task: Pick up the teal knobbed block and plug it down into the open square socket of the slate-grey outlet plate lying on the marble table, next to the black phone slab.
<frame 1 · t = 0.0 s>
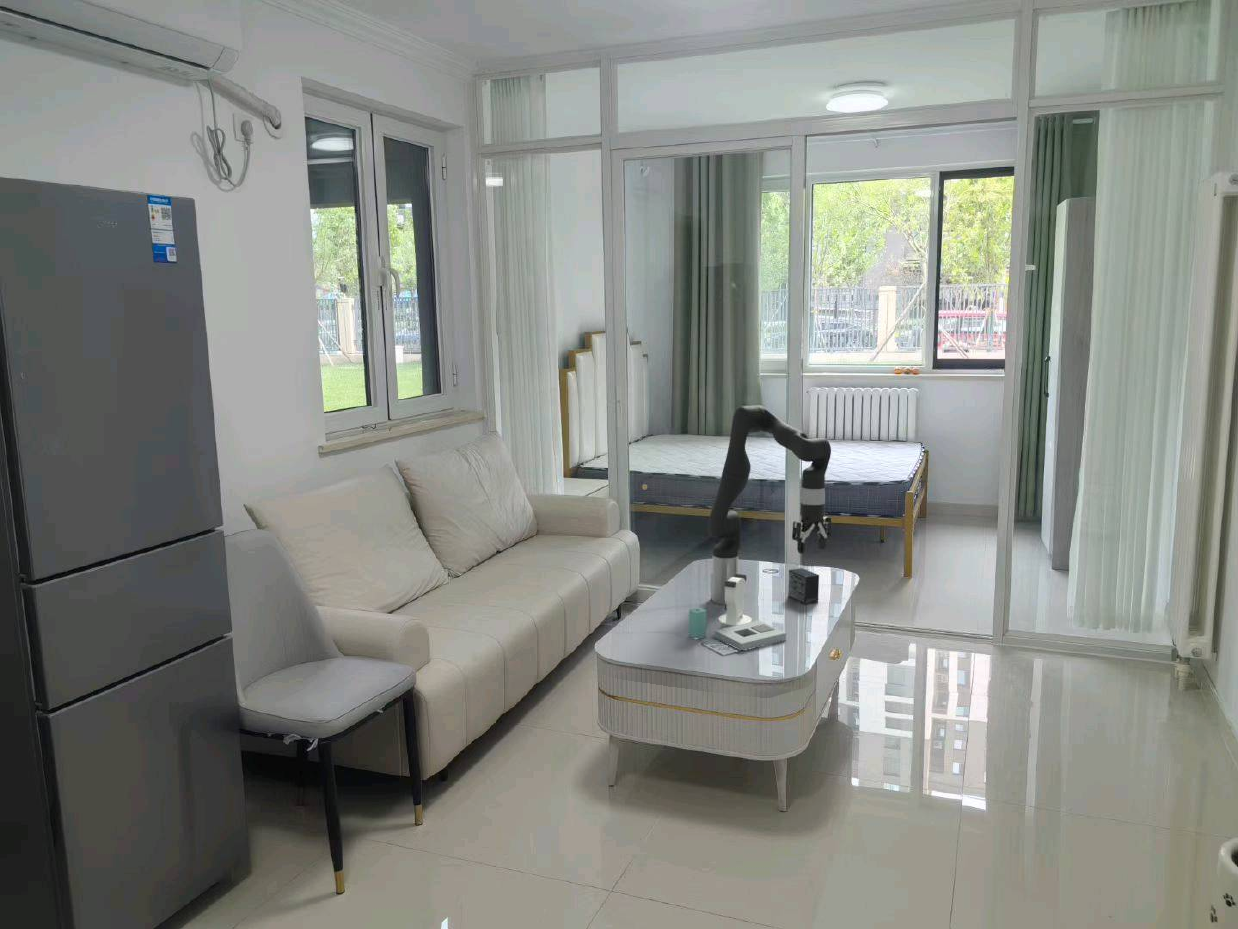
hand: (811, 551, 296), 29 cm above the table, fingers open, 8 cm apart
teal knobbed block: (697, 636, 305), on the table
white curved stand: (735, 620, 320), on the table
small box: (803, 600, 340), on the table
outlet plate: (750, 639, 302), on the table
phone: (719, 649, 294), on the table
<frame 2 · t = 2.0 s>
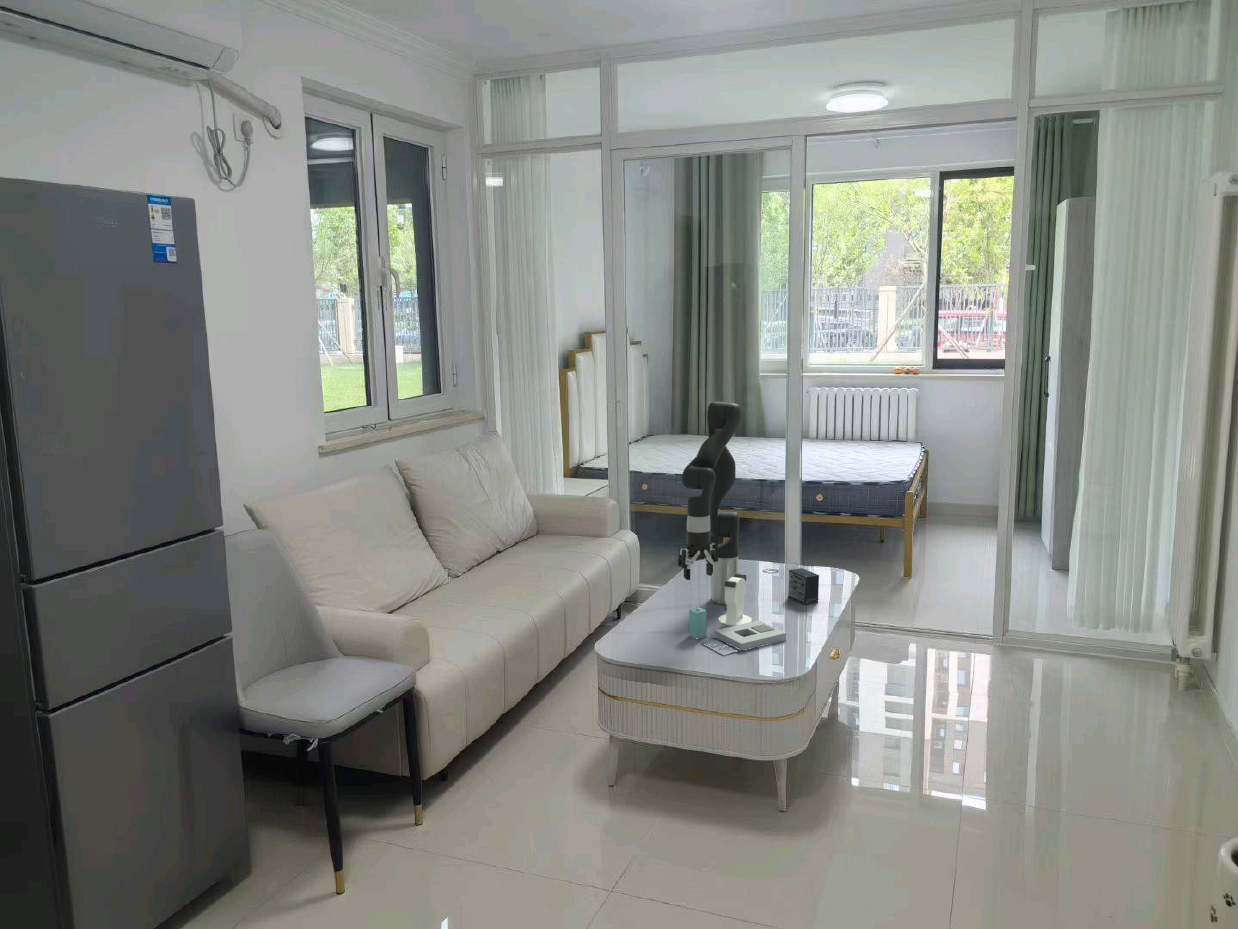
hand: (698, 577, 301), 20 cm above the table, fingers open, 8 cm apart
nothing on the table moved.
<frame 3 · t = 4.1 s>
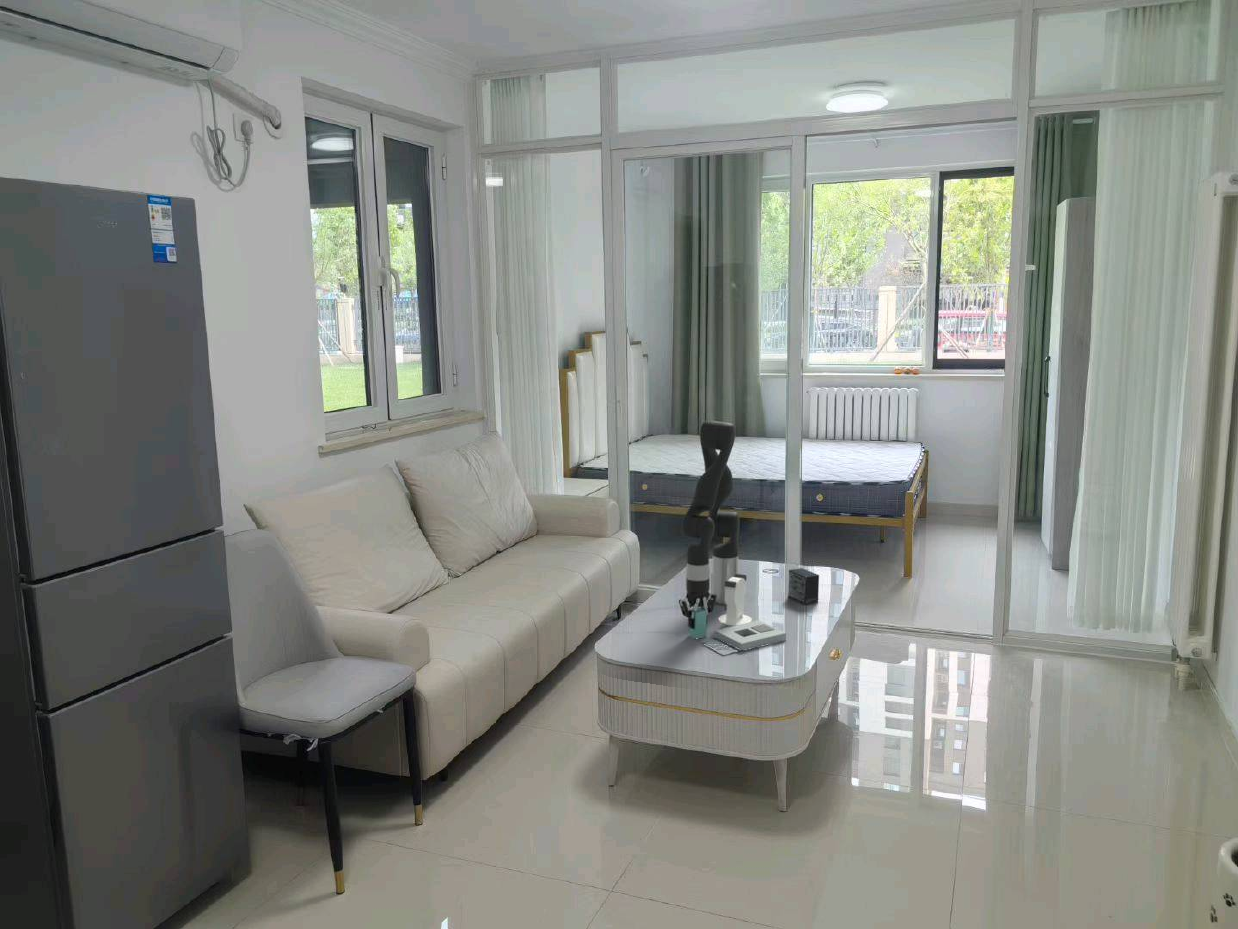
hand: (697, 626, 304), 3 cm above the table, fingers closed on teal knobbed block, 4 cm apart
teal knobbed block: (697, 636, 305), on the table, touching gripper
everything else where it was.
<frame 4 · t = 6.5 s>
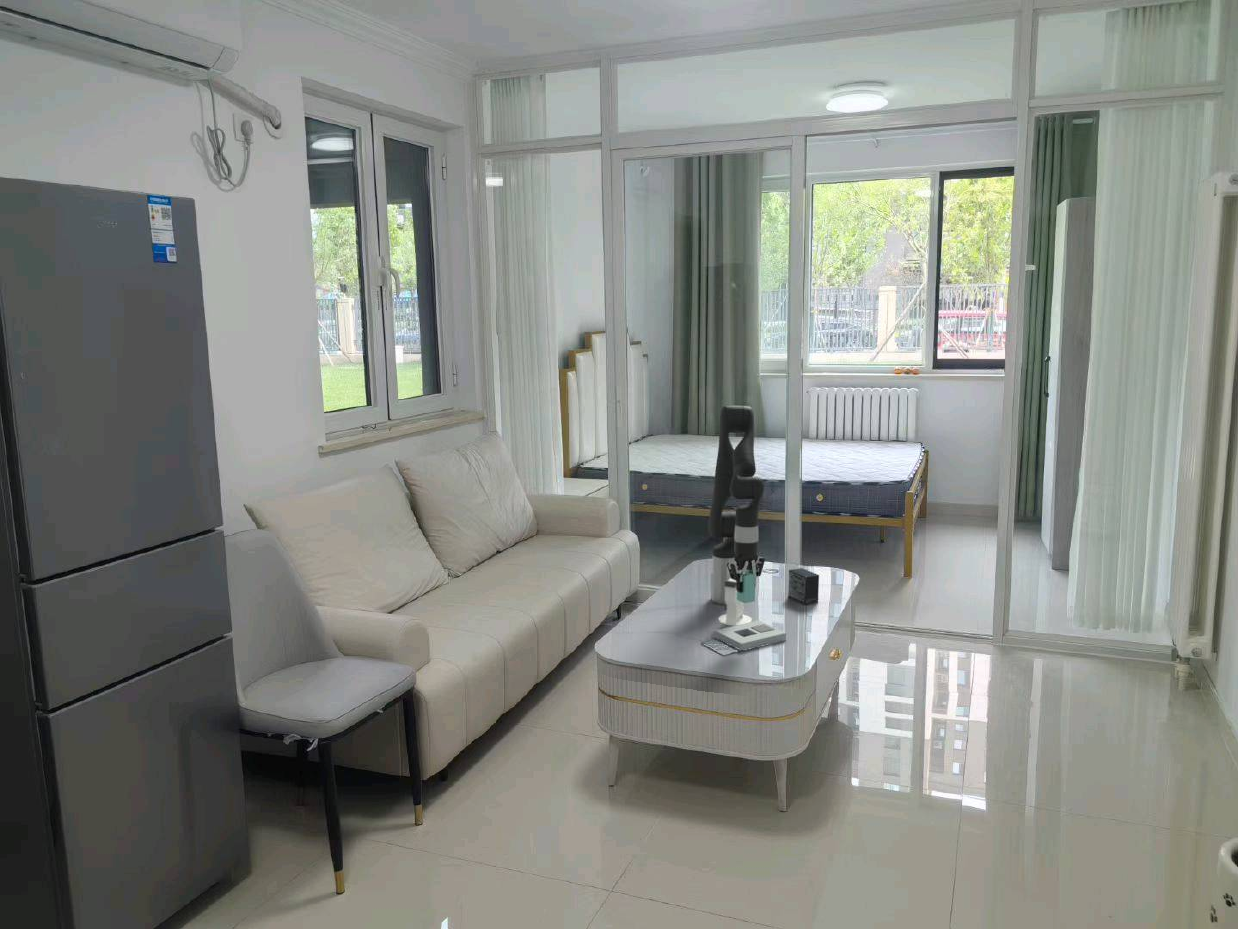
hand: (745, 590, 298), 17 cm above the table, fingers closed on teal knobbed block, 4 cm apart
teal knobbed block: (745, 600, 298), point 13 cm above the table, touching gripper
everything else where it was.
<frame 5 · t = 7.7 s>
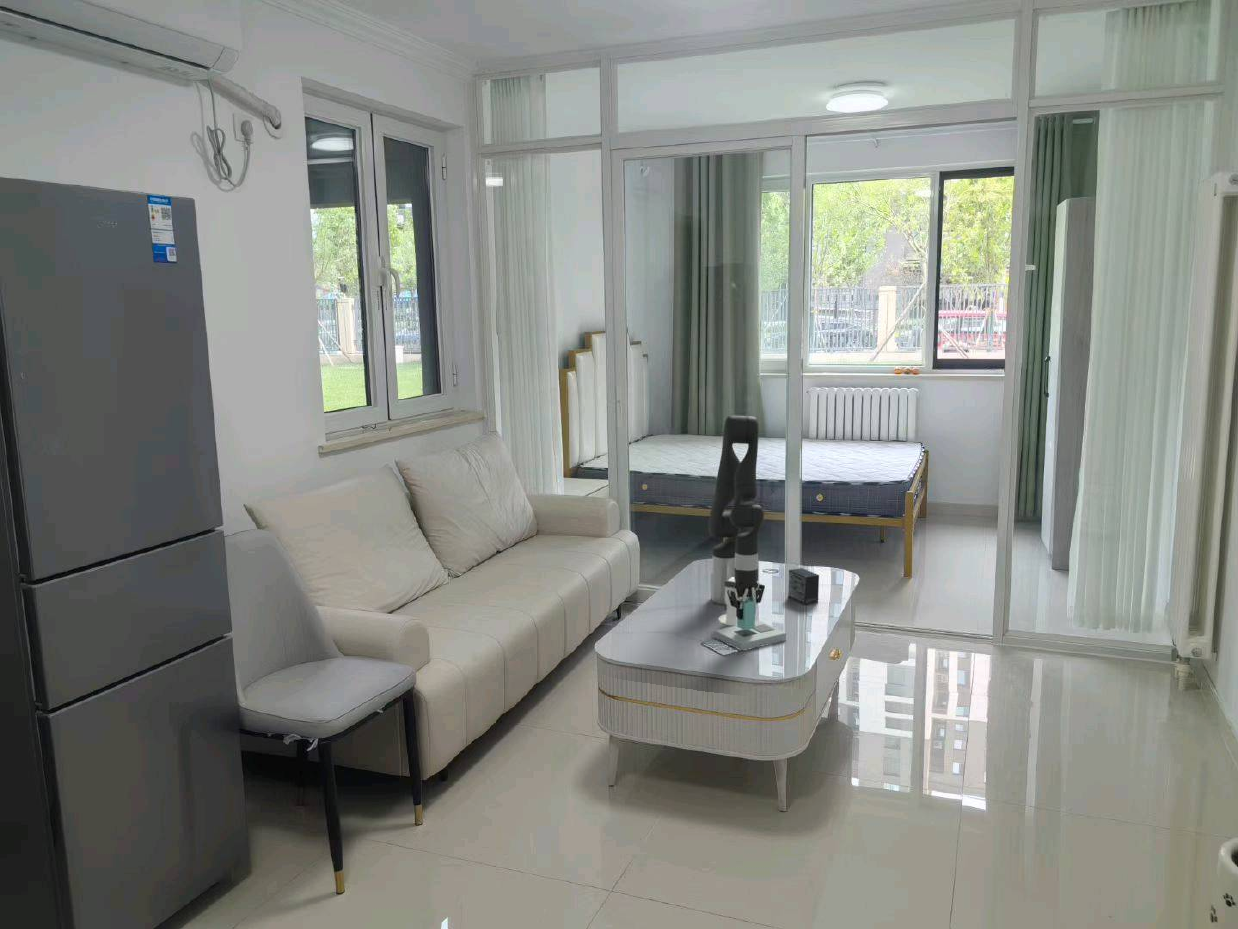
hand: (745, 617, 299), 8 cm above the table, fingers closed on teal knobbed block, 4 cm apart
teal knobbed block: (745, 627, 300), point 4 cm above the table, touching gripper
everything else where it was.
when the fingers open (4 cm above the table, at t = 8.7 s): teal knobbed block stays where it is, resting on outlet plate.
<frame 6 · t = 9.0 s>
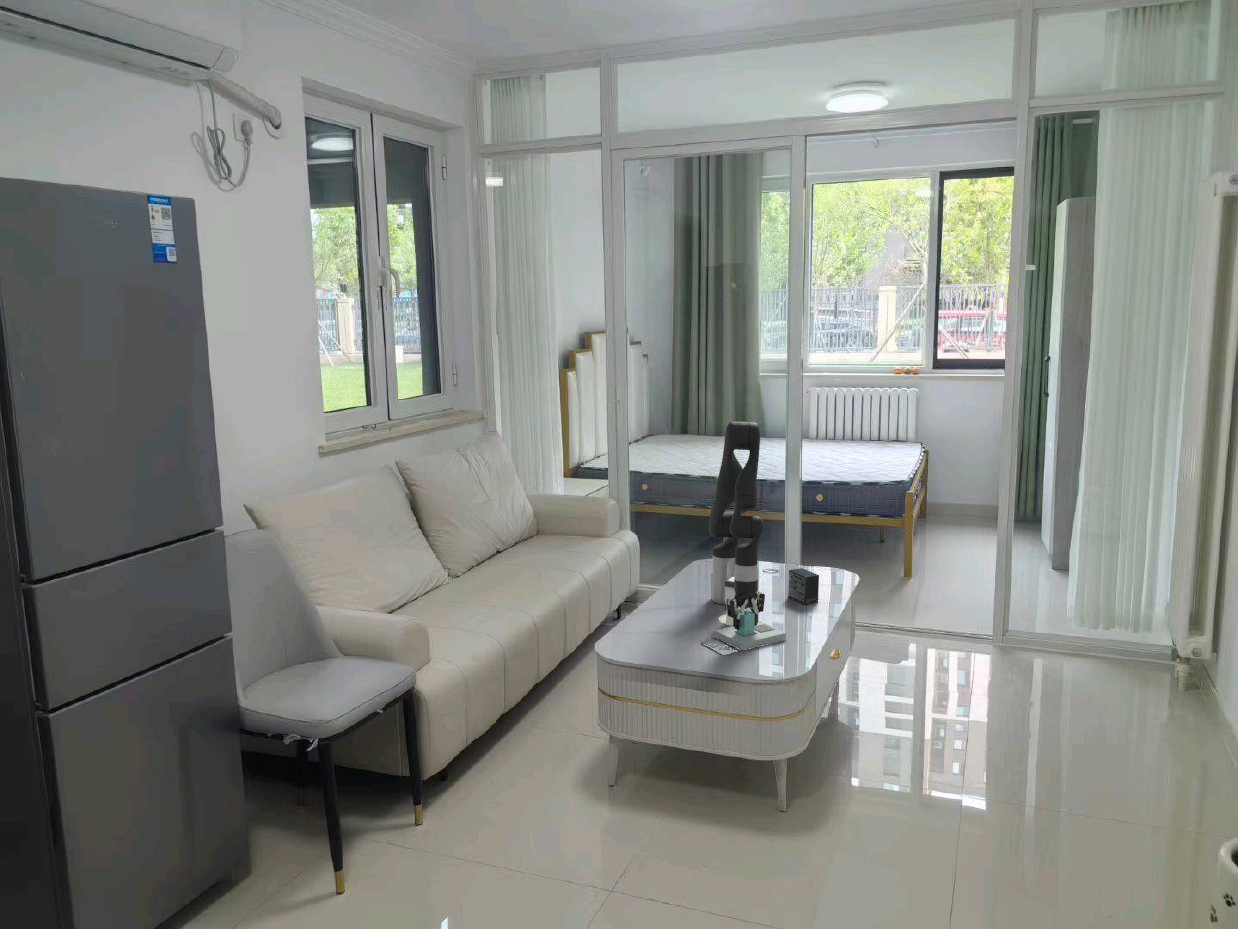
hand: (745, 627, 300), 4 cm above the table, fingers open, 6 cm apart
teal knobbed block: (745, 639, 301), resting on outlet plate
everything else where it was.
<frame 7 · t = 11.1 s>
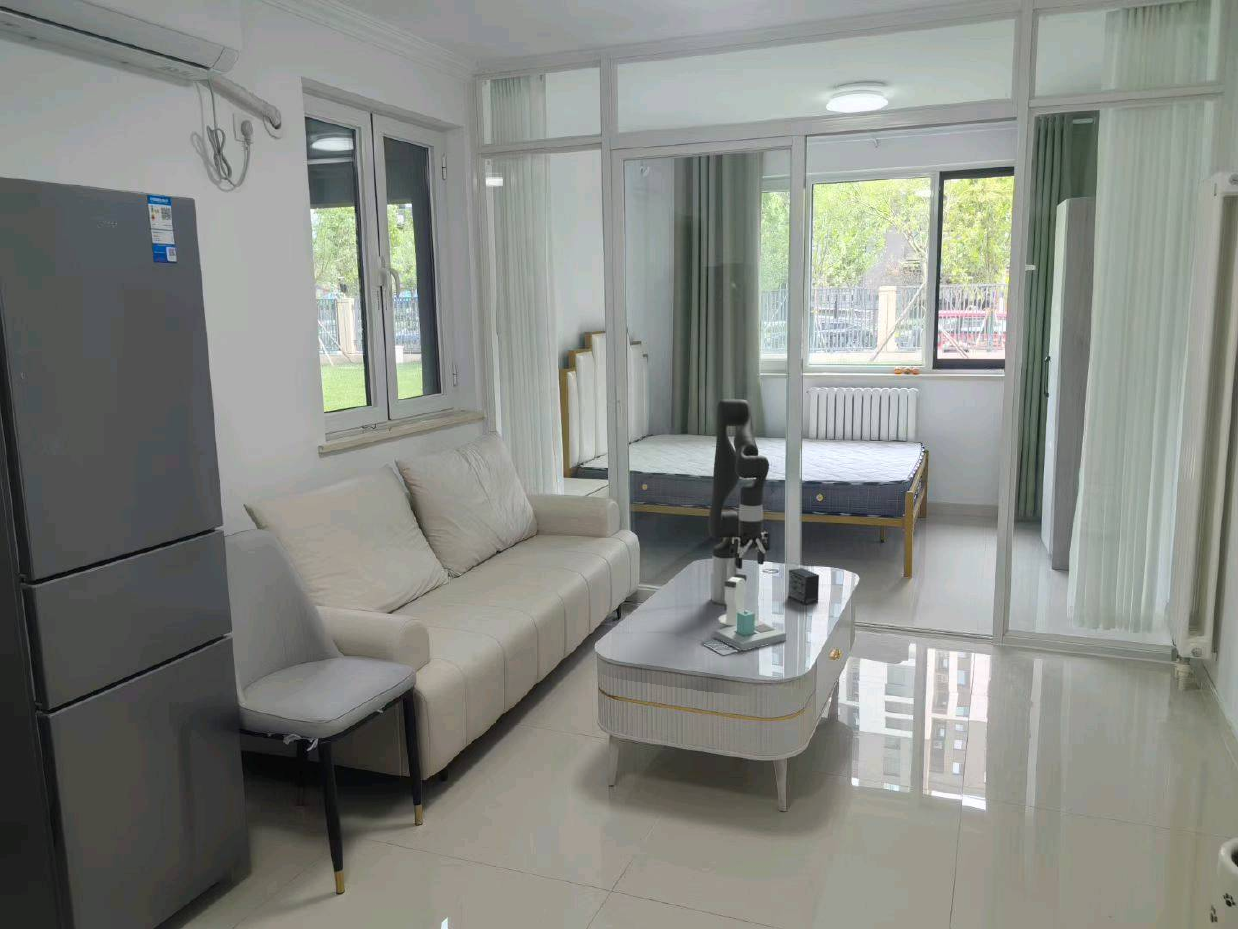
hand: (749, 566, 300), 24 cm above the table, fingers open, 8 cm apart
nothing on the table moved.
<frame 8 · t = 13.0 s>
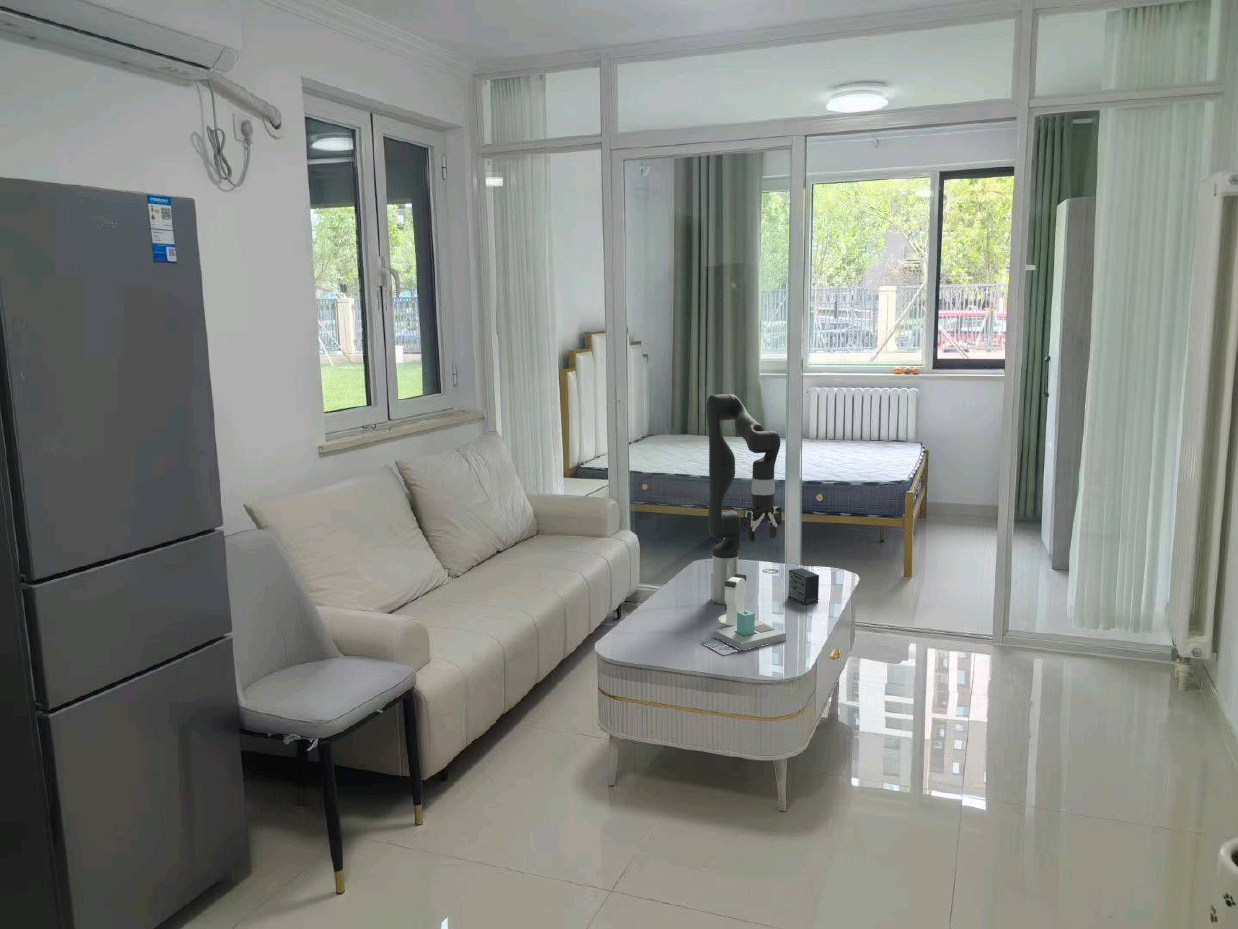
hand: (762, 539, 307), 30 cm above the table, fingers open, 8 cm apart
nothing on the table moved.
at the end: teal knobbed block 0.0 cm from the target spot on the outlet plate, point 0.2 cm above the outlet plate's base; teal knobbed block tilted 0°; the gripper is holding nothing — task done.
